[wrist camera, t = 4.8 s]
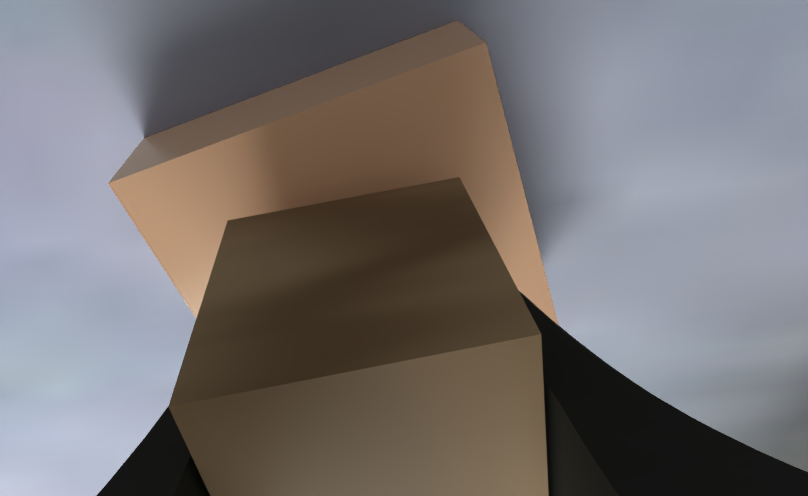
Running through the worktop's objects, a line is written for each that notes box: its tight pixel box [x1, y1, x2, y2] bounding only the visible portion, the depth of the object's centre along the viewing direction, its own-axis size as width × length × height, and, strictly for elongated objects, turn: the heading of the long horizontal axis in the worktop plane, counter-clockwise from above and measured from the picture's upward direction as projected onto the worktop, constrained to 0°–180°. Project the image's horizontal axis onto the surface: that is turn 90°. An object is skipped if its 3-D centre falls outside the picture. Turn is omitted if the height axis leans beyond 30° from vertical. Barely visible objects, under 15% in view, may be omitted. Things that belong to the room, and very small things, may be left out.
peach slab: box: [108, 20, 558, 324], centre depth 15 cm, size 8×8×3 cm
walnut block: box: [169, 177, 549, 496], centre depth 10 cm, size 4×4×5 cm
